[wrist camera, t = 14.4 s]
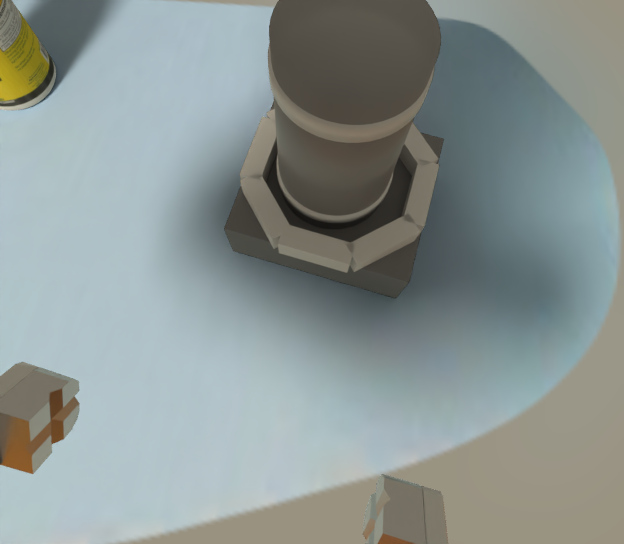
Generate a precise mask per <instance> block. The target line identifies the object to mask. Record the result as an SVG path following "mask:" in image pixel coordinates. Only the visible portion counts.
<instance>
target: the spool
mask: <svg viewBox="0 0 624 544" xmlns="http://www.w3.org/2000/svg"><path fill="white" fill-rule="evenodd" d="M269 38H270V43H269V49H268V67H269V79H270V85H271V90H272V93H273V96H274V108H275V122H276V136H277V149H278V155H277V177H278V182H279V186H280V189H281V192H282V195H283V198H284V200H285V202H286V204H287V205H288V207H289V208H290V209H291V210H292V211H293V213H294V214H296V215H297V216H298V217H299V218H301V219H302V220H304V221H305V222H307V223H309V224H311V225H314V226H317V227H321V228H325V229H343V228H348V227H352V226H354V225H357V224H359V223H361V222H363V221H365V220H366V219H367V218H369V217H370V216H371V215H372V214H373V213H374V212H375V211H376V209H377V208H378V207H379V205H380V203H381V202H382V201H383V199H384V198H385V196H386V194H387V192H388V189H389V187H390V184H391V181H392V177H393V171H394V168H395V166H396V163H397V160H398V158H399V155H400V153H401V150H402V148H403V145H404V143H405V140H406V137H407V135H408V132H409V130H410V127H411V125H412V122H413V120H414V117H415V115H416V114H417V113H418V112H419V110H420V108H421V106H422V104H423V102H424V100H425V97H426V95H427V92H428V90H429V87H430V85H431V82H432V79H433V74H434V66H435V63H436V61H437V58H438V55H439V51H440V46H441V34H440V27H439V24H438V21H437V18H436V16H435V14H434V12H433V10H432V8H431V7H430V6H429V4H428V3H427V1H426V0H279V1H278V2H277V4H276V6H275V8H274V10H273V13H272V16H271V19H270V25H269Z"/></svg>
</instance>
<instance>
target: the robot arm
mask: <svg viewBox="0 0 624 544" xmlns="http://www.w3.org/2000/svg"><path fill="white" fill-rule="evenodd" d="M78 392H79V381H77V380H75V379H73V378H70V377H67V376H64V375H61V374H58V373H55V372H52V371H49V370H46V369H43V368H41V367H37V366H34V365H31V364H28V363H25V362H21V363H18V364H15V365H14V366H13V367H11V368H10V369H9V370H8V371H6V372H5V373H4V374H3V375H1V376H0V465H3V466H6V467H10V468H13V469H17V470H20V471H24V472H27V473H31V474H34V472H35V471H36V470H37V469H38V468H39V467H40V466H41V464H42V463H43V462H44V461H45V460H46V459H47V458H48V457H49V455H50V454H51V453H52V444H53V443H56V442H58V441H60V440H63V439H64V438H65V437H66V436H67V435H68V433H69V432H70V431H71V430H72V428H73V426H74V424H75V422H76V420H77V418H78V414H79V402H78V401H77V399H76V398H75V395H76V394H77V393H78ZM363 535H364V537H365V539H366V543H365V544H448V537H447V529H446V520H445V511H444V502H443V496H442V493H441V492H440V491H437V490H434V489H430V488H427V487H424V486H420V485H418V484H415V483H411V482H408V481H405V480H401V479H398V478H394V477H391V476H388V475H384V474H382V475H381V476H380V477H379V480H378V482H377V487H376V493H375V494H372V495H371V497H370V500H369V503H368V505H367V509H366V513H365V518H364V525H363Z"/></svg>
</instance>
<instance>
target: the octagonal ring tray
mask: <svg viewBox="0 0 624 544" xmlns="http://www.w3.org/2000/svg"><path fill="white" fill-rule="evenodd" d="M443 141H444V139H442V138H438V137H434V136H431V135H427V134H423V133H420V132H419V130H418V129H417V128H416V126H415V125H414V123H413V122H412V125H411V127H410V130H409V132H408V135H407V137H406V140H405V143H404V145H403V148H402V150H401V153H400V155H399V158H398V160H397V163H396V166H395V168H394V171H393V177H392V181H391V184H390V187H389V189H388V192H387V194H386V196H385V198H384V199H383V201H382V202H381V203H380V205H379V207H378V208H377V209H376V211H375V212H374V213H373V214H372V215H371V216H370V217H369V218H367V219H366V220H365V221H363V222H361V223H359V224H357V225H354V226H352V227H348V228H343V229H325V228H321V227H317V226H314V225H311V224H309V223H307V222H305V221H304V220H302V219H301V218H299V217H298V216H297V215H296V214H294V213H293V211H292V210H291V209H290V208H289V207H288V205H287V204H286V202H285V200H284V198H283V195H282V192H281V189H280V186H279V182H278V177H277V155H278V149H277V136H276V122H275V108H274V102H273V105H272V107H271V110H270V111H268V112H267V118H266V117H262V118H261V121H260V123H259V126H258V129H257V131H256V134H255V136H254V139H253V141H252V144H251V146H250V149H249V151H248V154H247V156H246V159H245V161H244V164H243V166H242V169H241V172H240V178H241V180H240V183H241V187H240V189H239V192H238V194H237V197H236V199H235V202H234V205H233V207H232V210H231V212H230V215H229V217H228V220H227V223H226V225H225V228H224V230H225V232H226V235H227V237H228V239H229V242H230V244H231V247H232V249H233V251H236V252H239V253H243V254H246V255H249V256H253V257H256V258H260V259H263V260H266V261H270V262H273V263H277V264H280V265H284V266H287V267H290V268H294V269H297V270H301V271H304V272H307V273H311V274H314V275H318V276H321V277H324V278H328V279H331V280H335V281H338V282H342V283H345V284H348V285H352V286H355V287H359V288H362V289H365V290H369V291H372V292H376V293H379V294H383V295H386V296H389V297H393V298H397V297H398V295H399V294H400V293H401V292H402V290H403V289H404V288H405V287H406V286H407V284H408V283H409V281H410V277H411V273H412V268H413V264H414V260H415V256H416V252H417V248H418V244H419V240H420V235H421V231H422V230H423V228H424V227H425V223H426V219H427V215H428V211H429V206H430V202H431V198H432V194H433V190H434V186H435V182H436V177H437V173H438V169H439V164H438V161H439V157H440V153H441V149H442V145H443Z"/></svg>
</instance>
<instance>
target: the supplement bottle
mask: <svg viewBox="0 0 624 544" xmlns="http://www.w3.org/2000/svg"><path fill="white" fill-rule="evenodd" d="M55 79H56V68H55V64H54V62H53V60H52V58H51V57H50V55H49V54H48V52H47V51H46V49H45V48H44V47H43V45H42V44H41V42H40V41H39V39H38V38H37V36H36V35H35V33H34V32H33V31H32V29H31V28H30V26H29V25H28V23H27V22H26V20H25V19H24V18H23V16H22V15H21V13H20V12H19V10H18V9H17V7H16V6H15V5H14V3H13V2H12V0H0V110H21V109H26V108H29V107H31V106H33V105H35V104H37V103H39V102H40V101H41V100H43V99H44V98H45V97H46V96H47V95H48V94H49V92H50V91H51V89H52V87H53V85H54V83H55Z"/></svg>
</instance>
